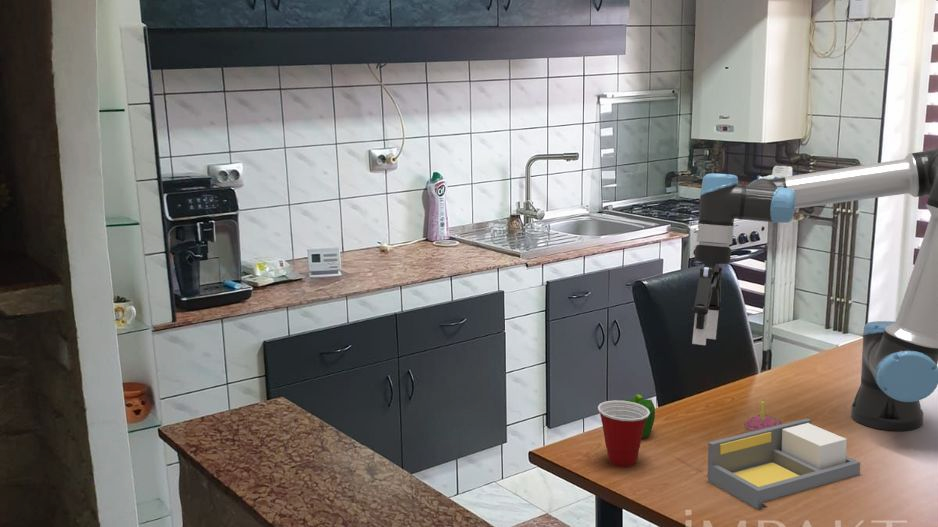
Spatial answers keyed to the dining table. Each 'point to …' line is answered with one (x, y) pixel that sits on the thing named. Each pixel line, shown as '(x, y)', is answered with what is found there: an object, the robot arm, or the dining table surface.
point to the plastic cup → (623, 430)
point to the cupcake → (760, 421)
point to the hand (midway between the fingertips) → (704, 341)
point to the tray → (767, 467)
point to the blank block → (814, 446)
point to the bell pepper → (651, 417)
